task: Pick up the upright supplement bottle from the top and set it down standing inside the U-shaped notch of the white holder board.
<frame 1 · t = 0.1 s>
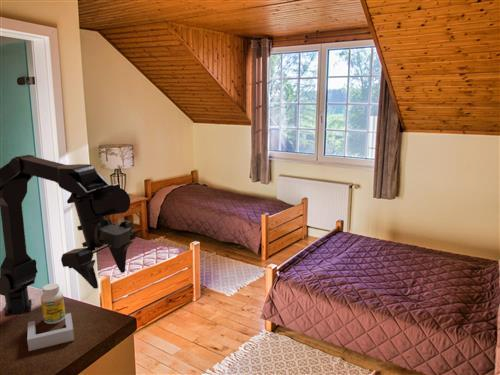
hand: (110, 280, 101), 15 cm above the countertop, tool pointing down, fingers open, 9 cm apart
supplement bottle: (54, 319, 113), on the countertop
notched board: (51, 336, 105), on the countertop
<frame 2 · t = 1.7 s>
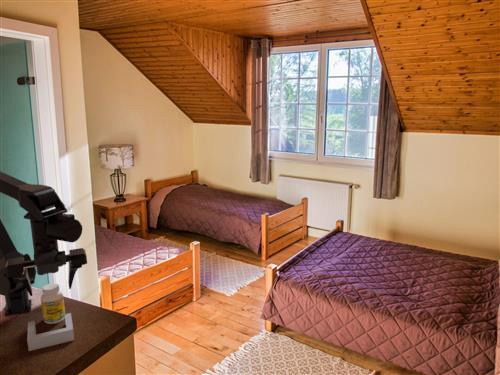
hand: (51, 291, 111), 8 cm above the countertop, tool pointing down, fingers open, 9 cm apart
nothing on the countertop moved.
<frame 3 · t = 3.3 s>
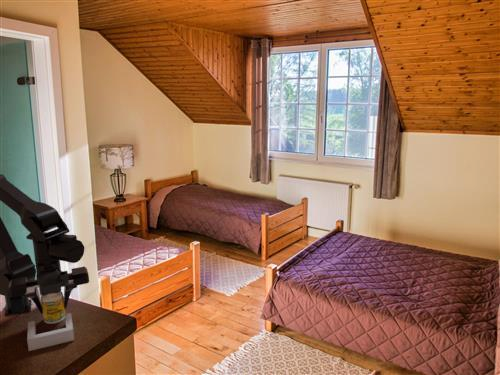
hand: (53, 310, 112), 3 cm above the countertop, tool pointing down, fingers closed on supplement bottle, 5 cm apart
supplement bottle: (54, 319, 113), on the countertop, touching gripper
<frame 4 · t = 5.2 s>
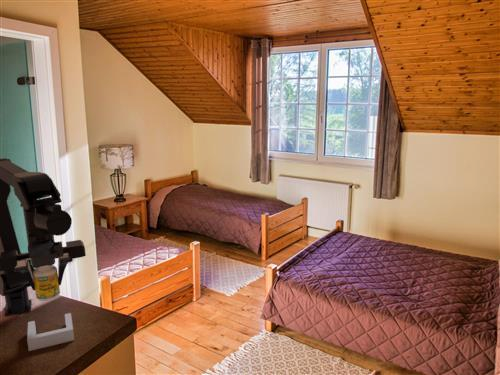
hand: (47, 287, 103), 13 cm above the countertop, tool pointing down, fingers closed on supplement bottle, 5 cm apart
supplement bottle: (48, 297, 104), point 10 cm above the countertop, touching gripper
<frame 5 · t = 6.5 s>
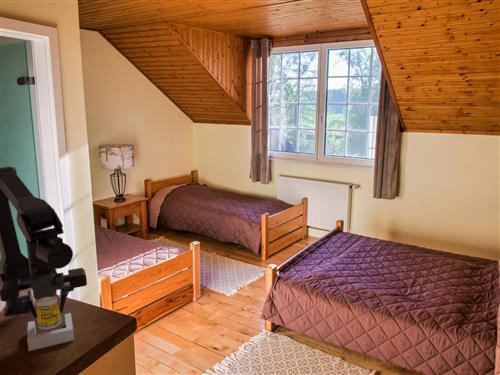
hand: (48, 315, 104), 5 cm above the countertop, tool pointing down, fingers closed on supplement bottle, 5 cm apart
supplement bottle: (50, 324, 105), point 3 cm above the countertop, touching gripper
when the fingers open (4 cm above the countertop, at t = 7.6 s): supplement bottle drops 1 cm, on the countertop.
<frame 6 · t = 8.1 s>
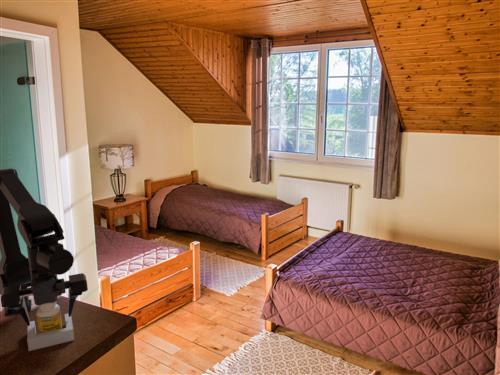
hand: (49, 320, 104), 4 cm above the countertop, tool pointing down, fingers open, 9 cm apart
supplement bottle: (51, 335, 105), on the countertop
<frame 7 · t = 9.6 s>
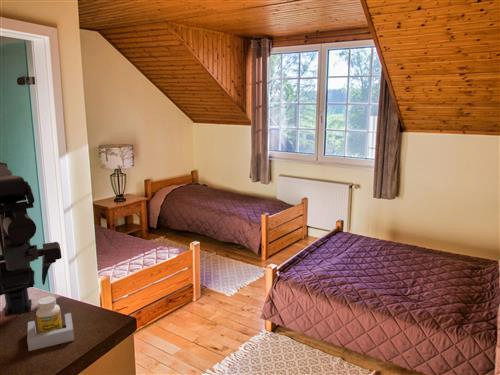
hand: (23, 288, 105), 12 cm above the countertop, tool pointing down, fingers open, 9 cm apart
nothing on the countertop moved.
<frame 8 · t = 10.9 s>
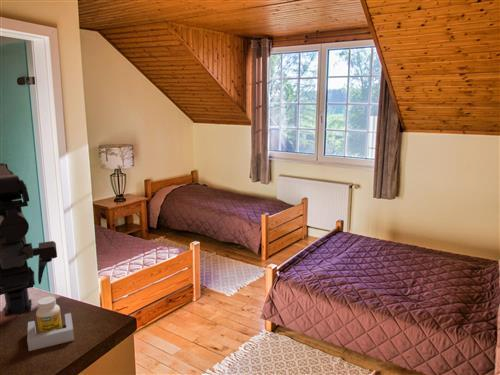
hand: (19, 287, 105), 12 cm above the countertop, tool pointing down, fingers open, 9 cm apart
nothing on the countertop moved.
at the end: supplement bottle 0.4 cm from the target spot on the notched board, point 0.0 cm above the notched board's base; supplement bottle tilted 0°; the gripper is holding nothing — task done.
